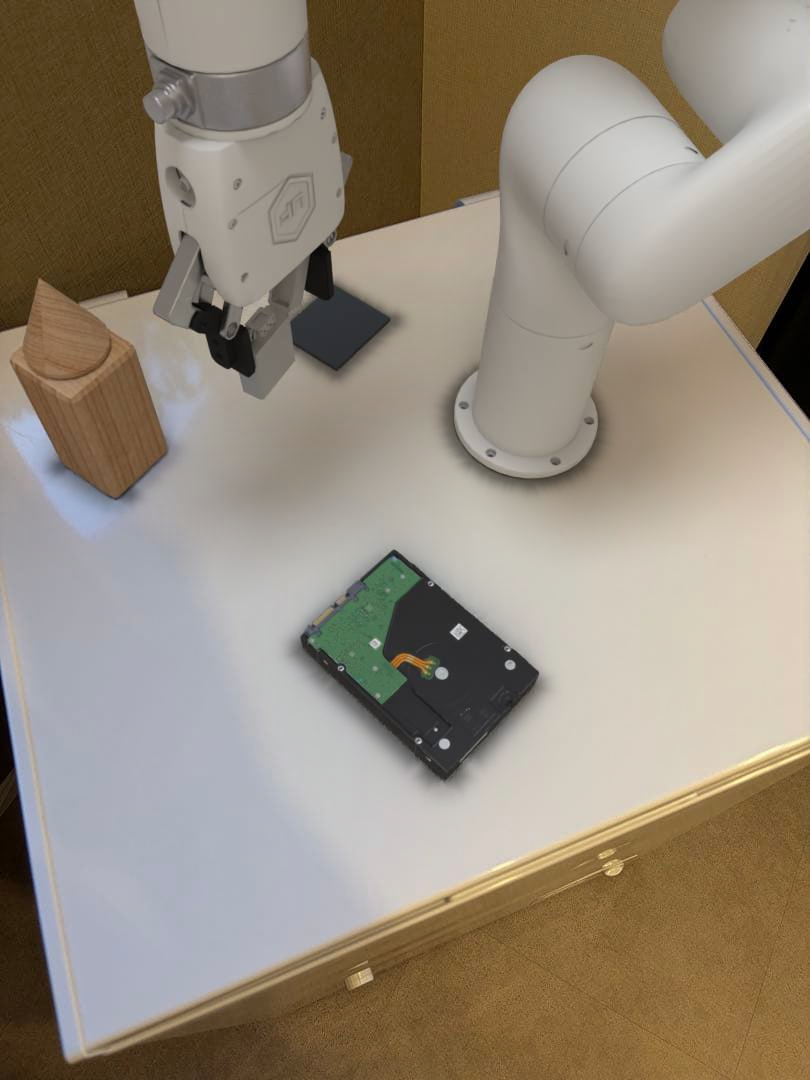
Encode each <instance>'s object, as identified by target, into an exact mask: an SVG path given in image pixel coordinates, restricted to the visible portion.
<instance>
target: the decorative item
mask: <svg viewBox="0 0 810 1080" xmlns="http://www.w3.org/2000/svg"><path fill="white" fill-rule="evenodd" d="M9 365H10V366H11V368H12V370H13V372H14V374H15V376H16V377H17V380H18V381H19V383H20V385H21V387H22V389H23V391H24V392H25V395H26V397H27V399H28V401H29V402H30V404H31V406H32V409H33V410H34V412H35V414H36V416H37V418H38V420H39V422H40V423H41V425H42V426H41V427H42V428H43V429H44V431H45V434H46V436H47V437H48V439H49V442H50V443H51V445H52V447H53V449H54V451H55V453H56V455H57V457H58V458H59V461H60V462H61V464H62V465H64V466H65V467H67V468H68V469H69V470H71V471H72V472H74V473H75V474H77V475H78V476H80V477H81V478H83V479H84V480H85V481H87V482H89V483H90V484H91V485H93V486H94V487H95V488H97V489H98V490H100V491H102V492H103V493H105V494H106V495H107V496H109V497H111V498H118V497H120V496H122V495H123V494H124V493H125V492H126V491H127V490H128V489H129V488H130V487H131V486H132V485H133V484H134V483H135V482H136V481H138V480H139V479H140V478H141V477H142V476H143V475H144V474H145V473H146V472H147V471H148V470H149V469H150V468H151V467H152V466H154V464H155V463H156V462H158V461H159V460H160V458H162V457H163V456H164V455H165V454H166V452H167V450H168V444H167V441H166V438H165V435H164V431H163V429H162V426H161V422H160V419H159V417H158V413H157V411H156V407H155V405H154V401H153V398H152V396H151V393H150V389H149V387H148V383H147V381H146V380H147V379H146V377H145V374H144V371H143V369H142V366H141V362H140V359H139V356H138V353H137V350H136V348H135V346H134V345H133V344H132V343H131V342H130V341H128V340H126V339H125V338H123V337H121V336H120V335H119V334H117V333H115V332H114V331H112V330H110V329H109V328H108V327H107V325H106V323H105V322H103V321H102V319H100V318H99V317H98V316H96V315H95V314H93V313H92V312H90V311H89V310H87V309H86V308H84V307H83V306H81V305H80V304H79V303H77V302H76V301H74V300H73V299H71V298H70V297H68V296H67V295H66V294H64V293H62V292H61V291H60V290H58V289H56V288H55V287H53V286H52V285H50V283H48V282H46V281H45V280H43V279H42V278H40V277H39V278H38V281H37V284H36V288H35V293H34V296H33V301H32V305H31V309H30V312H29V317H28V321H27V324H26V329H25V333H24V337H23V341H22V345H21V346H20V347H19V348H18V349H17V350H15V351H14V352H13V353H12V354H11V356H10V357H9Z"/></svg>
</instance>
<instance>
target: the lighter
mask: <svg viewBox="0 0 810 1080" xmlns="http://www.w3.org/2000/svg"><path fill="white" fill-rule="evenodd" d="M309 258H310V255H309V256H308V257H306V258H305V259H304V260H303V261H302V262H301V263H300V264H299V265H298V266H297V267H296V268H295V269H294V270H292V271H291V272H290V273H289V274H288V275H287V276H286V277H285V278H284V279H283V280H281V281H280V282H279V283H278V284H277V285H276V286H275V287H274V288H273V289H271V290H270V291H269V292H268V298H267V305H265V306H264V307H263V306H259V307H258V308H257V309H256V310H255V312H254V313H253V314H252V315H251V316H250V317H249V318H248V320H247V321H246V322H245V323H244V326H245V327H246V328H247V329H248V331H249V336H250V341H251V346H252V351H253V356H254V361H255V366H256V369H255V373H254V374H253V375H252V376H251V377H249V378H248V377H246V376H244V375H242V374H241V373H239V372H238V375H239V379H240V383H241V388H242V392H243V393H245V394H247V395H249V396H252V397H253V398H256V399H257V400H260V401H262V400H265V399H266V398H267V397H268V396H269V394H270V393H271V392H272V390H273V389H274V388H275V387H276V386H277V384H278V383H279V382H280V380H282V378H283V377H284V376H285V374H286V373H287V372H288V371H289V369H290V368H291V367H292V366H293V364H294V363H295V362H296V356H295V348H294V344H293V340H292V333H291V326H290V321H291V319H290V313H292V312H293V311H295V310H297V309H299V308H301V307H302V306H303V300H304V294H305V290H304V288H305V282H306V276H307V270H308V264H309Z"/></svg>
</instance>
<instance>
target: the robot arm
mask: <svg viewBox="0 0 810 1080" xmlns="http://www.w3.org/2000/svg"><path fill="white" fill-rule="evenodd" d="M133 2H134V3H133V4H134V7H135V11H136V16H137V18H138V23H139V28H140V31H141V36H142V39H143V40H142V41H143V43H144V48H145V52H146V56H147V59H148V64H149V68H150V72H151V76H152V80H153V85H152V87H151V91H150V92H148V93H147V94H146V95H144V96H143V97H142V104H143V108H144V110H145V112H146V114H147V115H148V117H149V118H150V119H151V120H152V121H153V122H154V123H153V124H154V145H155V157H156V168H157V176H158V184H159V190H160V197H161V198H160V199H161V204H162V209H163V213H164V220H165V223H166V228H167V232H168V236H169V240H170V245H171V248H172V252H173V255H174V257H173V259H172V261H171V264H170V267H169V268H168V271H167V274H166V275H165V278H164V280H163V283H162V285H161V287H160V289H159V290H160V291H159V292H158V295H157V296H156V299H155V301H154V303H153V307H152V313H153V315H154V316H156V317H157V318H159V319H161V320H163V321H164V322H166V323H168V324H170V325H171V326H175V327H178V328H181V329H185V330H190V331H193V332H195V333H197V334H200V335H205V339H206V343H207V348H208V351H209V354H210V357H211V359H212V360H213V361H214V362H215V363H216V364H217V365H218V366H220V367H222V368H223V369H225V370H231V369H232V370H233V371H235V372H237V373H238V374H239V373H241V374H242V375H244V376H246V377H248V378H249V377H251V376H252V375H253V374H254V373H255V369H256V366H255V361H254V356H253V351H252V346H251V341H250V336H249V331H248V329H247V328H246V327H245V325H243V324H241V321H242V316H243V311H244V308H245V307H248V306H250V305H253V304H255V303H256V302H258V301H259V300H261V299H262V298H263V297H265V296H266V295H267V294H269V291H270V290H271V289H273V288H274V287H275V286H276V285H277V284H278V283H279V282H280V281H281V280H283V279H284V278H285V277H286V276H287V275H288V274H289V273H290V272H291V271H292V270H294V269H295V268H296V267H297V266H298V265H299V264H300V263H301V262H302V261H303V260H304V259H305V258H306V257H308V256H309V255H310V258H309V264H308V270H307V276H306V282H305V288H304V292H307V293H309V294H311V295H312V296H314V297H315V298H320V299H322V300H324V301H325V300H327V301H328V300H330V299H331V298H332V297H333V296H334V285H335V284H334V273H333V260H332V259H333V258H332V251H331V250H329V248H331V247H332V246H333V245H334V244H335V242H336V240H337V237H338V231H337V228H338V227H339V225H340V223H341V221H342V219H343V218H344V215H345V205H346V203H345V202H346V199H345V186H346V184H347V181H348V178H349V175H350V172H351V169H352V167H353V161H354V159H353V156H352V155H350V154H348V153H346V152H344V151H342V150H341V149H340V142H339V134H338V129H337V124H336V119H335V114H334V110H333V105H332V101H331V97H330V94H329V91H328V86H327V83H326V81H325V78H324V75H323V73H322V70H321V66H320V65H319V63H318V61H317V60H316V59H315V58H313V57H312V56H311V47H310V45H311V44H310V33H309V21H308V9H307V0H133ZM664 25H665V26H664V29H663V32H662V37H661V54H662V55H661V56H662V60H663V63H664V66H665V69H666V71H667V74H668V76H669V78H670V79H671V81H672V83H673V84H674V86H675V88H676V89H677V91H678V93H679V94H680V95H681V96H682V97H683V99H684V100H685V102H686V103H687V104H688V105H689V107H690V108H691V109H692V110H693V111H694V113H695V114H696V115H697V116H698V117H699V119H700V120H701V121H702V122H703V124H705V125H706V127H707V128H708V129H709V130H710V132H711V133H712V134H713V136H715V137H716V139H717V140H718V141H719V142H720V143H721V144H722V146H721V147H720V148H719V149H718V150H716V151H715V152H714V153H712V154H711V155H709V157H707V158H706V157H705V156H704V155H703V154H702V153H701V151H700V150H699V148H697V147H696V145H695V144H694V143H693V142H692V141H691V139H690V138H689V136H687V134H686V133H685V130H684V129H683V128H682V126H681V125H680V124H679V123H678V122H677V121H676V120H675V119H674V117H673V116H672V115H671V114H670V112H668V110H667V109H666V107H664V106H663V104H661V102H660V101H659V100H658V99H657V97H656V96H655V95H654V94H653V92H652V91H651V90H650V89H649V87H648V86H646V85H645V84H644V82H642V81H641V79H639V78H638V77H637V76H636V75H635V74H634V73H632V72H631V71H630V70H628V69H627V68H626V67H624V66H623V65H621V64H619V63H618V62H615V61H614V60H611V59H609V58H607V57H603V56H599V55H595V54H577V55H571V56H566V57H564V58H561V59H558V60H555V61H554V62H552V63H549V64H548V65H547V66H544V68H542V69H540V70H539V72H537V73H536V74H535V75H534V76H533V77H532V78H531V79H530V80H529V81H528V82H527V83H526V84H525V86H523V88H522V90H521V91H520V92H519V94H518V95H517V96H516V99H515V101H514V102H513V104H512V106H511V108H510V111H509V113H508V115H507V118H506V121H505V124H504V127H503V131H502V135H501V136H502V137H501V140H500V148H499V157H498V158H499V160H498V165H499V166H498V186H499V187H498V188H499V236H498V244H497V252H496V259H495V260H496V261H495V267H494V272H493V277H492V284H491V289H490V295H489V301H488V308H487V314H486V320H485V325H484V326H485V327H484V332H483V338H482V344H481V350H480V357H479V363H478V369H477V370H475V371H474V372H473V373H472V374H471V375H469V376H468V377H467V378H466V380H465V381H464V382H463V383H462V385H461V386H460V388H459V390H458V392H457V394H456V397H455V401H454V402H455V403H454V408H453V423H454V428H455V432H456V434H457V437H458V439H459V441H460V442H461V444H462V445H463V446H464V448H465V450H466V451H467V452H468V453H469V454H470V455H471V456H472V457H473V458H474V459H475V460H476V461H478V462H479V463H481V464H483V465H484V466H485V467H486V468H489V469H491V470H493V471H495V472H497V473H499V474H502V475H507V476H510V477H513V478H521V479H543V478H549V477H553V476H557V475H559V474H561V473H564V472H567V471H568V470H570V469H572V468H573V467H575V466H576V465H578V464H579V463H580V462H581V461H582V460H583V459H584V458H585V457H586V456H587V454H588V453H589V452H590V450H591V448H592V447H593V443H594V442H595V439H596V437H597V431H598V426H599V417H598V415H599V414H598V410H597V407H596V403H595V401H594V400H593V398H592V396H591V395H592V391H593V388H594V385H595V382H596V379H597V377H598V374H599V370H600V368H601V365H602V362H603V359H604V356H605V352H606V351H607V348H608V344H609V341H610V339H611V335H612V332H613V330H614V326H615V323H617V324H620V325H624V326H628V327H642V326H643V327H644V326H648V325H655V324H657V323H661V322H663V321H666V320H669V319H672V318H674V317H675V316H677V315H679V314H681V313H683V312H685V311H687V310H688V309H690V308H692V307H694V306H696V305H697V304H698V303H700V302H702V301H704V300H705V299H707V298H708V297H710V296H712V295H713V294H714V293H716V292H717V291H719V290H721V289H722V288H724V287H726V285H728V284H729V283H731V282H732V281H734V280H736V279H737V278H739V277H740V276H742V275H743V274H744V273H746V272H747V271H749V270H751V269H753V268H754V267H755V266H756V265H758V264H759V263H761V262H762V261H764V260H766V259H767V258H768V257H770V256H771V255H773V254H775V253H776V252H777V251H779V250H781V249H782V248H784V247H786V246H787V245H788V244H790V243H791V242H792V241H794V240H795V239H797V238H798V237H800V236H801V235H803V234H804V233H806V232H808V231H809V230H810V0H678V1H677V3H676V5H674V8H673V9H672V10H671V12H670V14H669V15H668V17H667V20H666V23H665V24H664ZM333 284H334V285H333ZM215 291H216V292H217V294H218V296H219V297H220V298H221V299H222V300H223V304H222V308H220V307H218V306H216V305H215V304H213V299H214V294H215Z"/></svg>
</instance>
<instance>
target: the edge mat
mask: <svg viewBox="0 0 810 1080" xmlns="http://www.w3.org/2000/svg"><path fill="white" fill-rule="evenodd" d="M333 285H334V296H333V297H332V298H331V299H330V300H328V301H327V300H325V301H324V300H322V299H320V298H318V297H316V298H315V299H314V300H312V302H311V303H309V305H307V306H306V307H305V308H304V309H303V310H301V311H300V312H299V313H298V314H297V315H296V316H295V317H294V318H293V319H290V326H291V333H292V340H293V346H296V347H297V348H299V349H301V350H302V351H303V352H305V353H307V354H309V355H310V356H312V357H313V358H315V359H317V361H319V362H321V363H323V364H325V365H326V366H327V367H329V368H331V369H333V371H336V372H338V371H339V370H340V369H341V368H342V367H343V366H344V365H345V364H346V363H347V362H349V360H350V359H352V358H353V357H354V356H355V355H356V354H357V352H359V351H360V350H361V349H362V348H364V346H366V345H367V344H368V342H370V341H371V339H373V338H374V337H375V336H376V335H377V334H378V333H379V332H380V331H382V329H384V327H385V326H386V325H387V324H389V322H391V317H390V316H388V315H387V314H385V313H383V312H381V311H379V310H378V309H376V308H375V307H373V306H372V305H370V304H368V303H366V302H365V301H363V300H361V299H360V298H358V297H357V296H354V295H353V294H351V293H349V292H348V291H346V290H344V289H343V288H341V287H339V286H337V285H336V284H334V283H333Z"/></svg>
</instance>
